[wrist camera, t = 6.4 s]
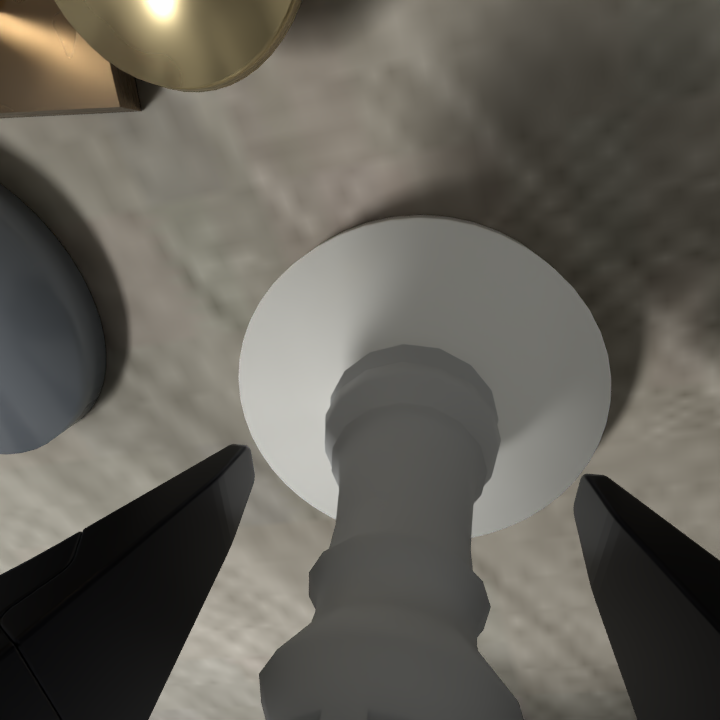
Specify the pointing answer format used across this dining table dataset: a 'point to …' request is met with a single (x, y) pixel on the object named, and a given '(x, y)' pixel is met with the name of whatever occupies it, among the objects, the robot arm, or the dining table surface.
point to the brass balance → (128, 50)
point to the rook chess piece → (398, 552)
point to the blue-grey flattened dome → (43, 333)
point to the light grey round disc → (437, 330)
